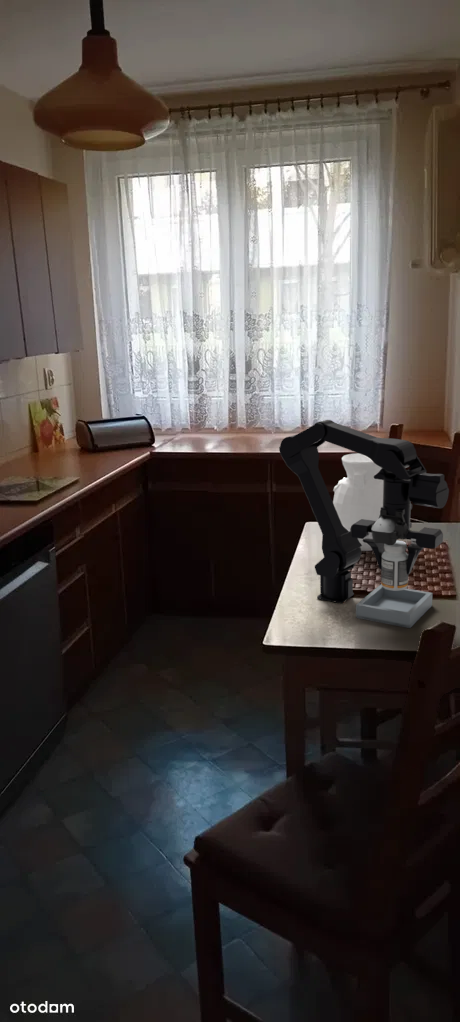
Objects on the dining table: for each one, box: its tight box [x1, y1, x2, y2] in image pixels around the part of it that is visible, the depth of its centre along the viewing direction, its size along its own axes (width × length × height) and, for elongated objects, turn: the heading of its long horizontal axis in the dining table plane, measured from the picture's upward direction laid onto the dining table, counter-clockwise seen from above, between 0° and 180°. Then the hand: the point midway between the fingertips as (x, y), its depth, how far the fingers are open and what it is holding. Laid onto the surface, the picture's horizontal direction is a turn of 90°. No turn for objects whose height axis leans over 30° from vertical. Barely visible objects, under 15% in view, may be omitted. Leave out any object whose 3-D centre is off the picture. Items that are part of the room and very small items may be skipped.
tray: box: [355, 584, 433, 629], centre depth 170 cm, size 12×14×3 cm
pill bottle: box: [380, 539, 409, 591], centre depth 168 cm, size 6×6×10 cm
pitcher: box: [332, 452, 383, 552], centre depth 214 cm, size 19×18×25 cm
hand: (394, 571), depth 169 cm, fingers closed on pill bottle, 6 cm apart
